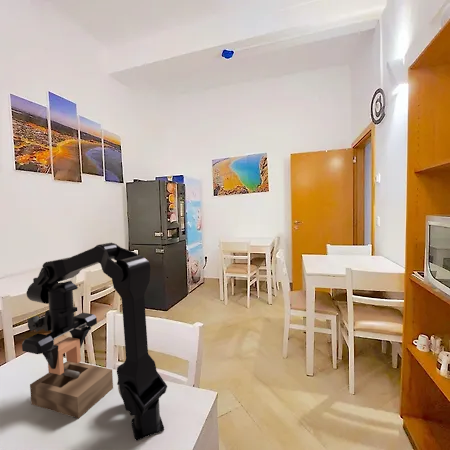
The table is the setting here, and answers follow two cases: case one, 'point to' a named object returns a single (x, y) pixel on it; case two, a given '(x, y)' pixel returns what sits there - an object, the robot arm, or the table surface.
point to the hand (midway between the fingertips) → (65, 361)
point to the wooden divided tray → (72, 389)
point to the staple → (72, 354)
